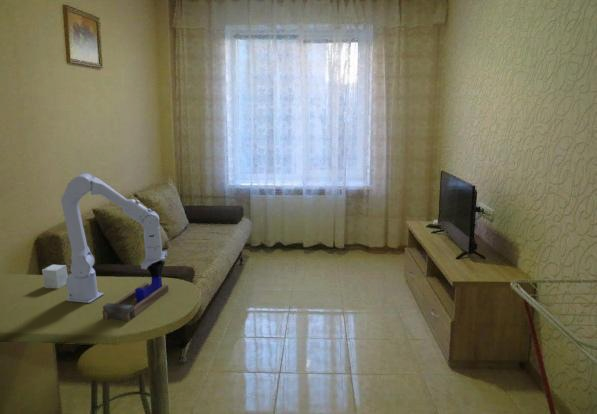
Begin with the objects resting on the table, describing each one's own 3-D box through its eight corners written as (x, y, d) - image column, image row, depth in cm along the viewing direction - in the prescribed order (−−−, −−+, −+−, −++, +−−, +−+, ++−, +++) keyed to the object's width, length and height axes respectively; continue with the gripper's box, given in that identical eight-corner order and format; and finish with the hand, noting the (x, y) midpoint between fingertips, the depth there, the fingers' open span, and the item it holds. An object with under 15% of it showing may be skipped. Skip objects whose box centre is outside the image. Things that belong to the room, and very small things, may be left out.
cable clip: (151, 291, 169) (149, 276, 168) (162, 292, 168) (161, 276, 167) (133, 305, 158) (131, 288, 156) (145, 306, 157) (143, 289, 155)
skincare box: (69, 283, 179) (66, 264, 178) (58, 289, 174) (55, 270, 172) (55, 282, 181) (53, 264, 179) (44, 288, 175) (41, 269, 173)
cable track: (103, 318, 148) (101, 306, 147) (145, 289, 171) (144, 279, 170) (129, 321, 146) (127, 309, 145) (168, 291, 168) (167, 280, 168)
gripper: (152, 252, 158) (155, 289, 161) (173, 240, 172) (176, 274, 175) (133, 251, 160) (137, 288, 163) (156, 239, 174) (159, 273, 177)
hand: (156, 281), depth 169 cm, fingers closed
